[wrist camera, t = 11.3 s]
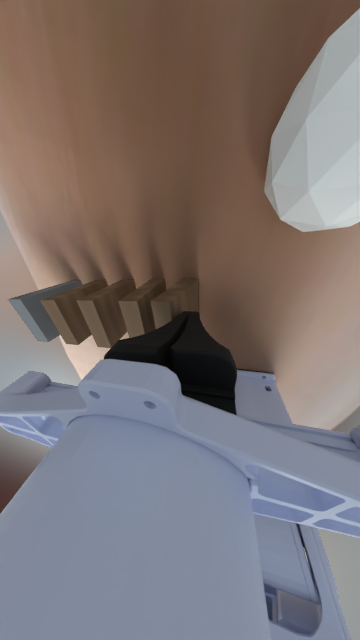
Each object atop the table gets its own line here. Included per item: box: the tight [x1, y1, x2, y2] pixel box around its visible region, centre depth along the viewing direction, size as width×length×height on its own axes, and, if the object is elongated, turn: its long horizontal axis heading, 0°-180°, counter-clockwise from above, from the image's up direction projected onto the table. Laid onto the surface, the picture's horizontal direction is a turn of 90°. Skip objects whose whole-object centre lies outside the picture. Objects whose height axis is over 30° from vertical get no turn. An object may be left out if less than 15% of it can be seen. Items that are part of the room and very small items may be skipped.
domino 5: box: [151, 278, 199, 329], centre depth 14 cm, size 2×5×7 cm, turn 4°
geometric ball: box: [264, 8, 360, 232], centre depth 7 cm, size 8×8×8 cm
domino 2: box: [40, 280, 108, 345], centre depth 17 cm, size 2×5×7 cm, turn 5°
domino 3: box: [76, 279, 136, 348], centre depth 16 cm, size 2×5×7 cm, turn 4°
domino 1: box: [9, 281, 82, 342], centre depth 17 cm, size 2×5×7 cm, turn 4°
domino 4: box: [118, 279, 166, 338], centre depth 15 cm, size 2×5×7 cm, turn 4°
